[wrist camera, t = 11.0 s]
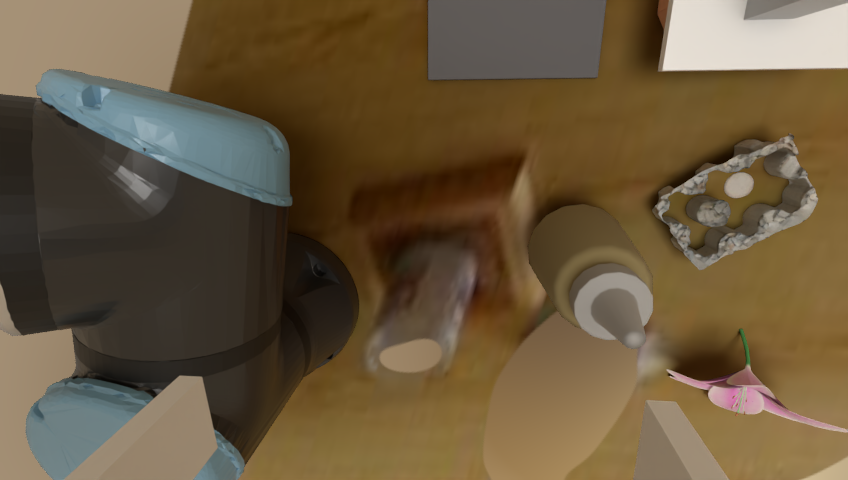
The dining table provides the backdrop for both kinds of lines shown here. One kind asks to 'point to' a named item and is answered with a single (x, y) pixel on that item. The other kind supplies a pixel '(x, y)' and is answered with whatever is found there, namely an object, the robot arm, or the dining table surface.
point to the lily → (747, 394)
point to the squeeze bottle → (593, 273)
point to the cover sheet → (755, 35)
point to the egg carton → (757, 217)
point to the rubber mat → (514, 39)
